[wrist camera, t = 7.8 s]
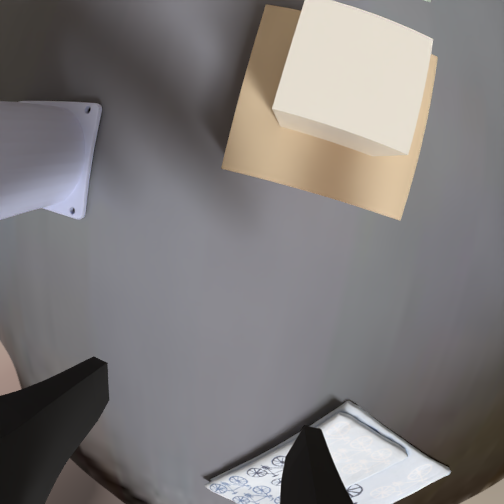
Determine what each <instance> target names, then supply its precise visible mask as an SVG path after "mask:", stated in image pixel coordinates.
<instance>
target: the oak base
mask: <svg viewBox="0 0 504 504" xmlns="http://www.w3.org/2000/svg"><path fill="white" fill-rule="evenodd" d="M300 14H301V11H300V10H295V9H290V8H285V7H279V6H273V5H267V4H266V6H265V9H264V12H263V16H262V19H261V22H260V26H259V29H258V32H257V35H256V39H255V42H254V46H253V49H252V53H251V56H250V60H249V63H248V67H247V70H246V74H245V77H244V81H243V85H242V88H241V92H240V96H239V99H238V103H237V107H236V111H235V115H234V119H233V122H232V126H231V130H230V134H229V138H228V142H227V146H226V150H225V155H224V159H223V163H222V167H221V169H225V170H229V171H233V172H237V173H241V174H245V175H249V176H253V177H257V178H261V179H265V180H269V181H272V182H276V183H280V184H284V185H287V186H291V187H294V188H298V189H301V190H305V191H308V192H312V193H315V194H319V195H322V196H325V197H329V198H332V199H335V200H339V201H342V202H345V203H348V204H352V205H355V206H358V207H361V208H364V209H367V210H370V211H373V212H376V213H379V214H382V215H385V216H388V217H391V218H394V219H397V220H401V217H402V214H403V210H404V207H405V204H406V201H407V197H408V194H409V190H410V187H411V183H412V180H413V176H414V172H415V169H416V165H417V161H418V157H419V153H420V149H421V145H422V140H423V136H424V132H425V127H426V122H427V117H428V112H429V107H430V102H431V97H432V91H433V85H434V79H435V72H436V65H437V58H438V57H436V56H434V55H432V54H431V56H430V62H429V68H428V73H427V78H426V83H425V88H424V93H423V98H422V102H421V107H420V111H419V115H418V120H417V124H416V128H415V132H414V135H413V139H412V143H411V147H410V150H409V154H408V155H394V156H370V155H367V154H364V153H362V152H359V151H356V150H353V149H351V148H348V147H345V146H342V145H339V144H336V143H333V142H330V141H327V140H324V139H321V138H318V137H314V136H311V135H308V134H305V133H301V132H298V131H295V130H291V129H288V128H284V127H281V126H280V125H279V122H278V120H277V118H276V116H275V114H274V112H273V110H272V107H273V103H274V100H275V97H276V93H277V90H278V87H279V83H280V80H281V76H282V73H283V70H284V66H285V63H286V60H287V56H288V53H289V50H290V47H291V43H292V40H293V37H294V33H295V30H296V27H297V24H298V20H299V17H300Z"/></svg>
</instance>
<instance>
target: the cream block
mask: <svg viewBox="0 0 504 504" xmlns="http://www.w3.org/2000/svg"><path fill="white" fill-rule="evenodd" d="M432 44H433V39H432V38H430V37H428V36H426V35H423V34H421V33H419V32H417V31H415V30H413V29H410V28H408V27H406V26H403V25H401V24H399V23H396V22H394V21H391V20H389V19H386V18H384V17H381V16H378V15H376V14H373V13H370V12H367V11H364V10H361V9H358V8H355V7H352V6H349V5H346V4H342V3H339V2H335V1H332V0H305V1H304V4H303V8H302V11H301V14H300V17H299V20H298V24H297V27H296V30H295V33H294V37H293V40H292V43H291V47H290V50H289V53H288V56H287V60H286V63H285V66H284V70H283V73H282V76H281V80H280V83H279V87H278V90H277V93H276V97H275V100H274V103H273V107H272V110H273V112H274V114H275V116H276V118H277V120H278V122H279V125H280V126H281V127H284V128H288V129H291V130H295V131H298V132H301V133H305V134H308V135H311V136H314V137H318V138H321V139H324V140H327V141H330V142H333V143H336V144H339V145H342V146H345V147H348V148H351V149H353V150H356V151H359V152H362V153H364V154H367V155H370V156H394V155H408V154H409V150H410V147H411V143H412V139H413V135H414V132H415V128H416V124H417V120H418V115H419V111H420V107H421V102H422V98H423V93H424V88H425V83H426V78H427V73H428V68H429V62H430V56H431V50H432Z"/></svg>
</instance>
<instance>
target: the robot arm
mask: <svg viewBox="0 0 504 504" xmlns="http://www.w3.org/2000/svg"><path fill="white" fill-rule="evenodd" d="M89 108H91V110H90V112H89V113H88V109H89ZM101 113H102V106H101V105H100V104H98V103H87V102H67V101H19V102H9V101H0V220H1V219H4V218H8V217H11V216H14V215H18V214H21V213H25V212H28V211H32V210H35V209H39V208H43V209H47V210H50V211H53V212H56V213H59V214H62V215H66V216H69V217H72V218H75V219H82V218H83V217H84V216H85V213H86V204H87V195H88V187H89V179H90V172H91V166H92V159H93V153H94V148H95V142H96V137H97V132H98V127H99V122H100V117H101ZM73 208H74V209H75V213H74V212H73ZM108 401H109V389H108V368H107V363H106V362H104V361H102V360H100V359H98V358H96V357H92V358H90V359H88V360H85V361H83V362H81V363H79V364H77V365H75V366H74V367H72V368H70V369H68V370H65V371H63V372H61V373H59V374H57V375H55V376H53V377H51V378H49V379H46V380H44V381H42V382H39V383H37V384H34V385H32V386H29V387H27V388H24V389H22V390H19V391H16V392H12V393H9V394H5V395H2V396H0V504H45V502H46V500H47V497H48V496H49V494H50V491H51V489H52V487H53V485H54V483H55V482H56V479H57V478H58V476H59V474H60V472H61V471H62V469H63V467H64V465H65V464H66V462H67V461H68V459H69V458H70V457H71V455H72V454H73V453H74V451H75V450H76V449H77V447H78V446H79V445H80V443H81V442H82V441H83V439H84V438H85V437H86V435H87V434H88V433H89V432H90V430H91V429H92V428H93V426H94V425H95V423H96V422H97V421H98V419H99V417H100V416H101V414H102V412H103V410H104V409H105V407H106V405H107V403H108ZM280 504H354V503H353V501H352V499H351V498H350V496H349V494H348V492H347V490H346V488H345V486H344V484H343V482H342V480H341V477H340V475H339V473H338V471H337V469H336V466H335V464H334V461H333V459H332V456H331V454H330V451H329V449H328V446H327V443H326V440H325V438H324V435H323V432H322V430H321V429H320V428H315V427H309V426H303V428H302V430H301V432H300V433H299V435H298V437H297V439H296V440H295V442H294V444H293V445H292V447H291V449H290V450H289V452H288V454H287V455H286V457H285V462H284V467H283V473H282V479H281V492H280Z"/></svg>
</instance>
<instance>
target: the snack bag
mask: <svg viewBox="0 0 504 504" xmlns="http://www.w3.org/2000/svg"><path fill="white" fill-rule="evenodd" d="M309 427H315V428H320V429H321V430H322V432H323V435H324V438H325V440H326V443H327V446H328V449H329V451H330V454H331V456H332V459H333V461H334V464H335V466H336V469H337V471H338V473H339V475H340V477H341V480H342V482H343V484H344V486H345V488H346V490H347V492H348V494H349V496H350V498H351V499H352V501H353V503H354V504H392V503H394V502H396V501H398V500H400V499H402V498H404V497H406V496H408V495H411V494H413V493H414V492H416V491H418V490H420V489H422V488H424V487H425V486H427V485H429V484H431V483H433V482H434V481H436V480H438V479H440V478H442V477H444V476H447V475H449V474H450V472H451V470H449V467H447V466H445V465H443V464H441V463H438V462H437V461H435V460H433V459H431V458H429V457H428V456H426V455H425V454H423V453H422V452H420V451H419V450H417V449H416V448H415V447H413V446H412V445H410V444H409V443H408V442H406V441H405V440H403V439H402V438H401V437H399V436H398V435H396V434H395V433H394V432H392V431H391V430H389V429H388V428H387V427H385V426H384V425H382V424H381V423H380V422H379V421H377V420H376V419H375V418H373V417H372V416H371V415H370V414H368V413H367V412H366V411H364V410H363V409H362V408H361V407H360V406H358V405H355V404H353V403H352V402H350V401H346V402H345V403H343V404H342V405H341V406H339V407H338V408H336V409H335V410H333V411H332V412H330V413H329V414H327V415H326V416H324V417H323V418H321V419H319V420H318V421H316V422H315V423H313V424H312V425H310V426H309ZM300 432H301V431H300ZM300 432H299V433H300ZM299 433H297V434H295V435H294V436H292V437H290V438H289V439H287V440H286V441H284V442H282V443H280V444H279V445H277V446H275V447H274V448H272V449H270V450H268V451H266V452H264V453H262V454H261V455H259V456H257V457H255V458H253V459H251V460H249V461H247V462H245V463H243V464H241V465H239V466H237V467H234V468H232V469H230V470H228V471H226V472H224V473H222V474H220V475H218V476H216V477H214V478H212V479H210V480H211V482H209V483H207V484H205V487H206V488H208V489H209V490H211V491H213V492H215V493H217V494H219V495H221V496H223V497H225V498H228V499H230V500H232V501H234V502H236V503H238V504H280V492H281V479H282V473H283V467H284V462H285V457H286V455H287V454H288V452H289V450H290V449H291V447H292V445H293V444H294V442H295V440H296V439H297V437H298V435H299Z"/></svg>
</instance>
